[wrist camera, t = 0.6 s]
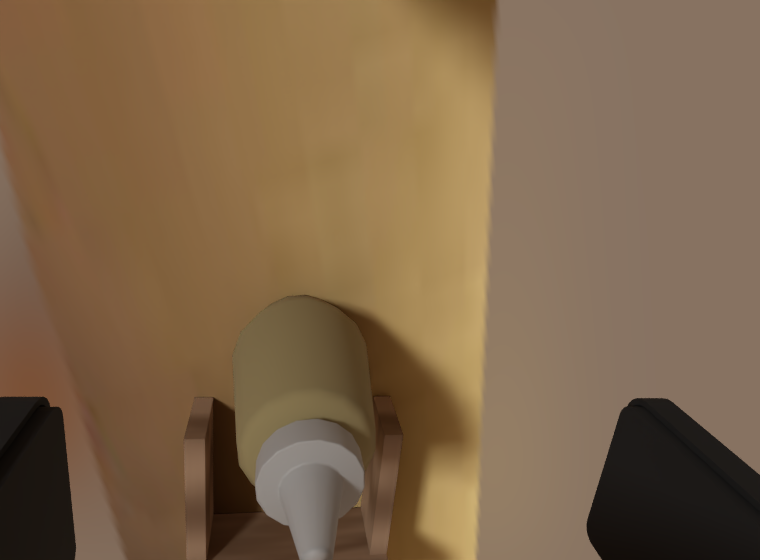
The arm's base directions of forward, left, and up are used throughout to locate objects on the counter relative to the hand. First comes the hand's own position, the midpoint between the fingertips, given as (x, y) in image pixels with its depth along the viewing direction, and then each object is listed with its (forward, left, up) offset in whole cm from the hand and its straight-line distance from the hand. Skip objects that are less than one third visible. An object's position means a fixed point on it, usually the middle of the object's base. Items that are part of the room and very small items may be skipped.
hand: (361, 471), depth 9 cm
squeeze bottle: (+10, 0, -26) cm, 27 cm away
